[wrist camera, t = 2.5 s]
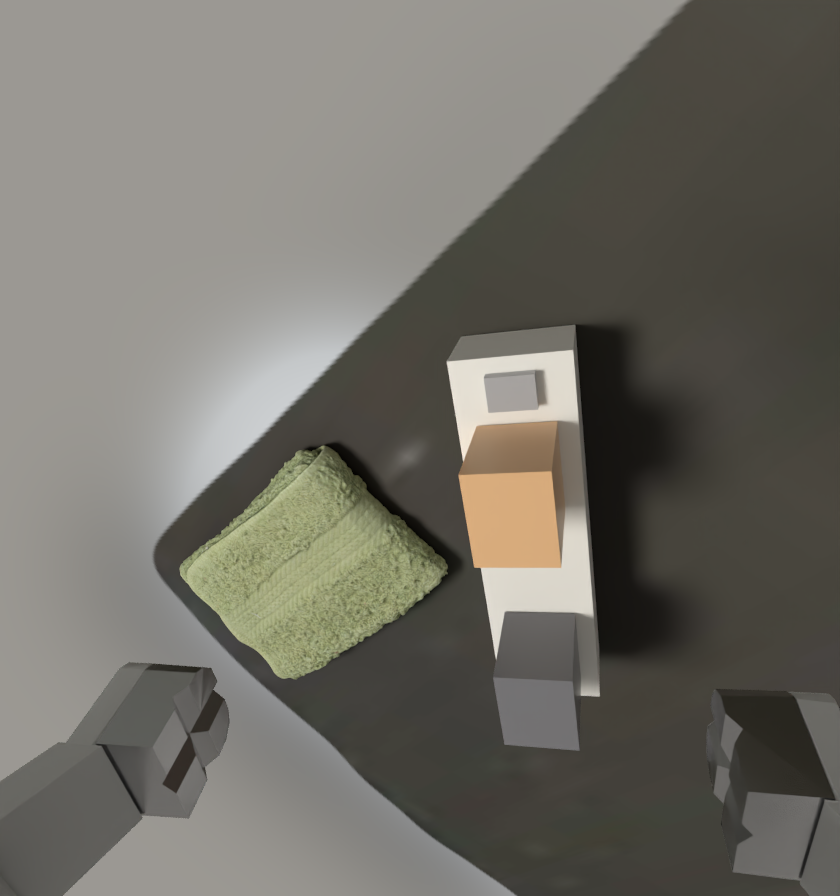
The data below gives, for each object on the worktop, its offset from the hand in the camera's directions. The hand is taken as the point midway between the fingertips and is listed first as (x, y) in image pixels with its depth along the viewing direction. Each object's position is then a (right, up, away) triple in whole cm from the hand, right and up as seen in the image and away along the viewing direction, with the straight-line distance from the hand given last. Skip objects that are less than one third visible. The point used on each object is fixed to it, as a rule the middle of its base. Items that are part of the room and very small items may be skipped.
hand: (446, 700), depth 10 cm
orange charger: (+5, +4, +24) cm, 25 cm away
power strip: (+7, +1, +28) cm, 29 cm away
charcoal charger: (+7, -7, +29) cm, 31 cm away
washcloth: (-8, -4, +35) cm, 36 cm away
